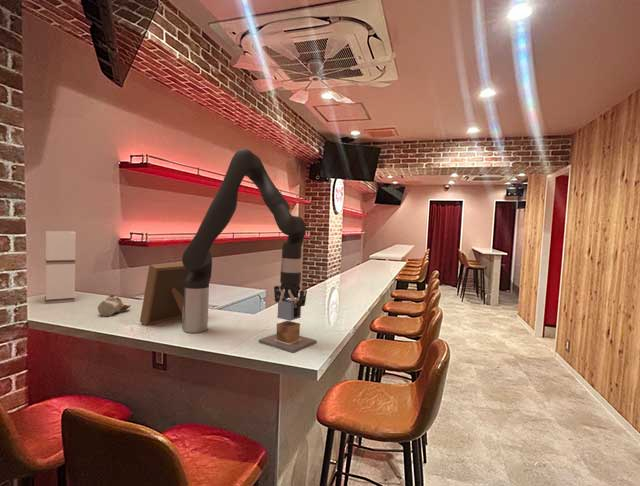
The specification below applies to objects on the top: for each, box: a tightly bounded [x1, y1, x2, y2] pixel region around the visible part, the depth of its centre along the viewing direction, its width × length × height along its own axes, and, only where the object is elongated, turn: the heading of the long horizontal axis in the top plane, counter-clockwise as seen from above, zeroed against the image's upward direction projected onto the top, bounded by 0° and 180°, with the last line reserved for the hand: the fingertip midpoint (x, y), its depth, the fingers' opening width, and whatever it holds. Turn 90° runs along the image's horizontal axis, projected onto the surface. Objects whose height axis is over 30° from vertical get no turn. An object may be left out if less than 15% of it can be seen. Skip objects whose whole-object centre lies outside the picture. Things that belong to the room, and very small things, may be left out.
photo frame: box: [139, 262, 189, 327], centre depth 147 cm, size 15×22×25 cm
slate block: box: [277, 298, 302, 322], centre depth 127 cm, size 6×6×6 cm
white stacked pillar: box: [44, 230, 77, 305], centre depth 174 cm, size 11×11×35 cm
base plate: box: [258, 333, 318, 354], centre depth 127 cm, size 16×14×1 cm
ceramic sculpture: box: [97, 294, 131, 317], centre depth 156 cm, size 11×9×15 cm
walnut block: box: [275, 320, 301, 343], centre depth 127 cm, size 6×6×6 cm
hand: (289, 315), depth 127 cm, fingers closed on slate block, 6 cm apart
